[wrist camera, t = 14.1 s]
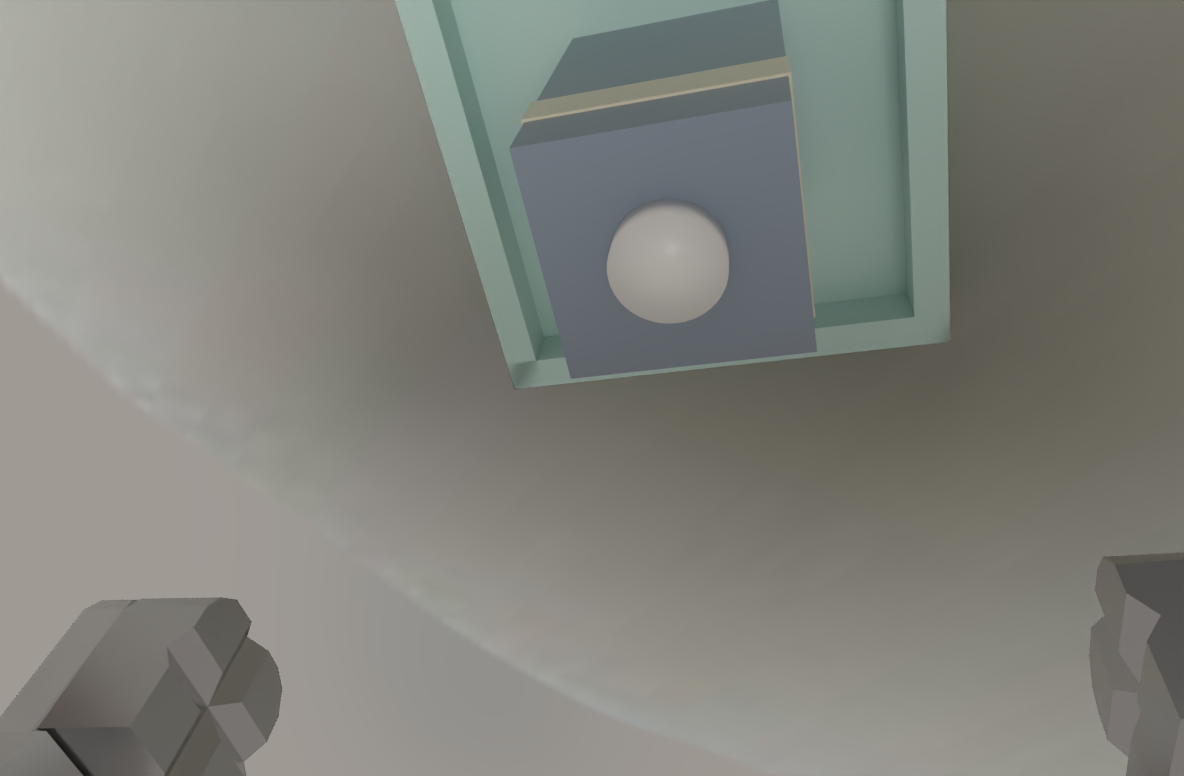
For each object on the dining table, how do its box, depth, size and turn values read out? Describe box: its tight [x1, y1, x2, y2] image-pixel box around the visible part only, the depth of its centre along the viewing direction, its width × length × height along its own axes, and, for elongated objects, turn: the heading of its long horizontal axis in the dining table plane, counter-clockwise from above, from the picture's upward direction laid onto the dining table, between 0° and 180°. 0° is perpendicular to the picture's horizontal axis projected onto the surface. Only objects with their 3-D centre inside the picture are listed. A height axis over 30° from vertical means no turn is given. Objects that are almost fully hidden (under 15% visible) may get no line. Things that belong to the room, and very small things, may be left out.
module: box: [509, 0, 817, 379], centre depth 19 cm, size 5×5×8 cm
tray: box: [395, 0, 950, 389], centre depth 21 cm, size 11×12×2 cm
